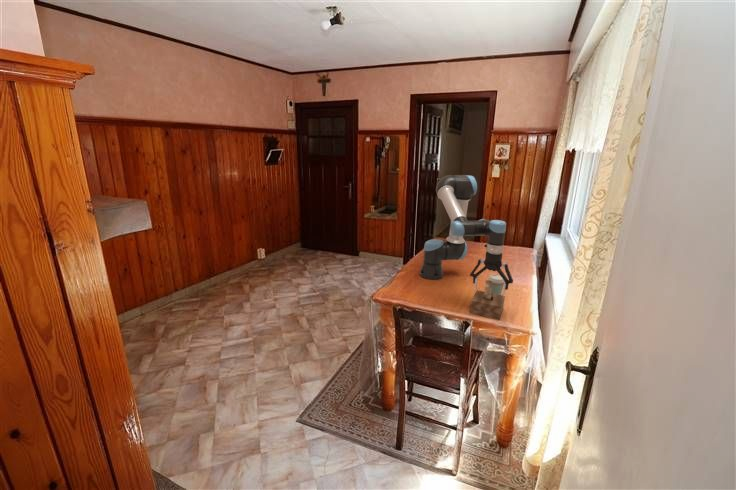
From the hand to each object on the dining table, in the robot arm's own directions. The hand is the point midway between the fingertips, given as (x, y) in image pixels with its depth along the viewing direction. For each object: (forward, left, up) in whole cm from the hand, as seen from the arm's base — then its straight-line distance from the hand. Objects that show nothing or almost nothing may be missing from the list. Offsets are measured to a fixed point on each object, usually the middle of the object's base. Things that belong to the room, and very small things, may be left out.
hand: (489, 292), depth 168 cm
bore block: (0, 0, -10) cm, 10 cm away
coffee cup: (+1, +19, -10) cm, 22 cm away
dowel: (0, 0, -8) cm, 8 cm away
